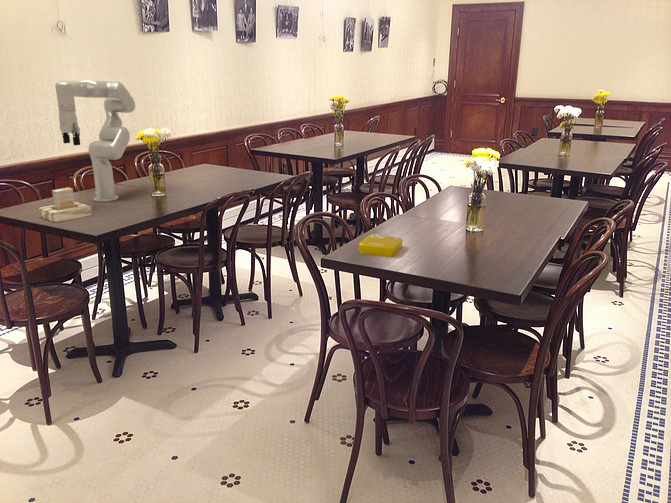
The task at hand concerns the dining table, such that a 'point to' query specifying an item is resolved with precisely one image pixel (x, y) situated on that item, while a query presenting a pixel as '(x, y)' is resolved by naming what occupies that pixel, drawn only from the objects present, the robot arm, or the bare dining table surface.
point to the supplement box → (63, 198)
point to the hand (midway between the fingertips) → (72, 144)
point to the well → (65, 212)
